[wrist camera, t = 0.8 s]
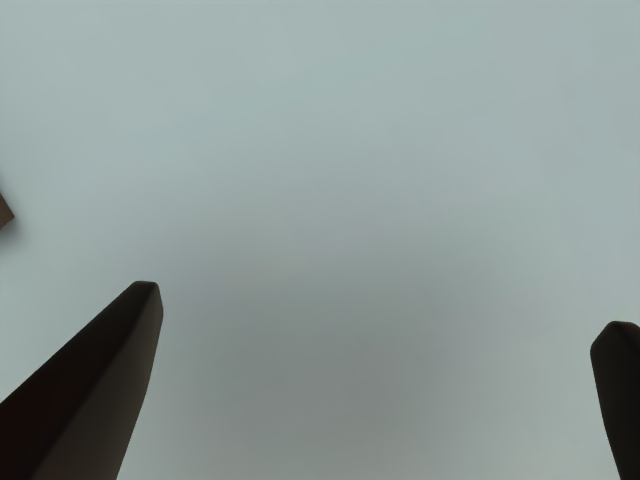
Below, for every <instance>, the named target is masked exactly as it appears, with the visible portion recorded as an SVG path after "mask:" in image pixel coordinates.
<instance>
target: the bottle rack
mask: <svg viewBox="0 0 640 480" xmlns="http://www.w3.org/2000/svg"><path fill="white" fill-rule="evenodd" d="M13 218H14V215H13V213H12V212H11V210H10V209H9V207H8V205H7V204H6V202H5V200H4V199H3V197H2V196H1V194H0V230H1V229H2V228H3V227H4V226H5V225H6V224H7V223H8V222H10V221H11V220H12V219H13Z"/></svg>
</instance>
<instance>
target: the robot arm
mask: <svg viewBox="0 0 640 480" xmlns="http://www.w3.org/2000/svg"><path fill="white" fill-rule="evenodd" d="M162 321H163V305H162V300H161V295H160V290H159V286H158V284H157V283H155V282H149V281H136V282H134V283H132V284H131V285H130V286H129V287H128V288H127V289H126V290H124V291H123V292H122V293H121V294H120V295H119V296H118V297H117V298H116V299H115V300H113V301H112V302H111V303H110V304H109V305H108V306H107V307H106V308H105V309H104V310H102V311H101V312H100V313H99V314H98V315H97V316H96V317H95V318H94V319H93V320H91V321H90V322H89V323H88V324H87V325H86V326H85V327H84V328H83V329H82V330H80V331H79V332H78V333H77V334H76V335H75V336H74V337H73V338H72V339H71V340H69V341H68V342H67V343H66V344H65V345H64V346H63V347H62V348H61V349H60V350H59V351H57V352H56V353H55V354H54V355H53V356H52V357H51V358H50V359H49V360H48V361H46V362H45V363H44V364H43V365H42V366H41V367H40V368H39V369H38V370H37V371H35V372H34V373H33V374H32V375H31V376H30V377H29V378H28V379H27V380H26V381H24V382H23V383H22V384H21V385H20V386H19V387H18V388H17V389H16V390H15V391H13V392H12V393H11V394H10V395H9V396H8V397H7V398H6V399H5V400H4V401H2V402H1V403H0V480H116V478H117V475H118V473H119V470H120V467H121V464H122V461H123V458H124V456H125V453H126V450H127V447H128V444H129V441H130V438H131V436H132V433H133V430H134V427H135V424H136V421H137V418H138V416H139V413H140V410H141V407H142V404H143V401H144V398H145V395H146V392H147V388H148V384H149V380H150V375H151V371H152V366H153V362H154V357H155V353H156V348H157V344H158V339H159V335H160V330H161V326H162ZM590 357H591V362H592V367H593V372H594V377H595V383H596V388H597V393H598V398H599V403H600V408H601V413H602V418H603V422H604V426H605V430H606V434H607V437H608V440H609V444H610V447H611V450H612V453H613V456H614V460H615V463H616V466H617V469H618V473H619V476H620V479H621V480H640V327H638V326H637V325H636V324H634V323H631V322H622V321H612V322H610V323H608V324H607V325H606V327H605V328H604V329H603V331H602V332H601V333H600V334H599V336H598V337H597V338H596V339H595V341H594V342H593V343H592V345H591V349H590Z"/></svg>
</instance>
